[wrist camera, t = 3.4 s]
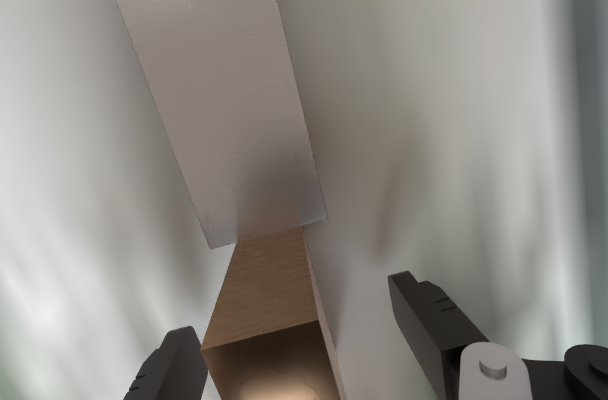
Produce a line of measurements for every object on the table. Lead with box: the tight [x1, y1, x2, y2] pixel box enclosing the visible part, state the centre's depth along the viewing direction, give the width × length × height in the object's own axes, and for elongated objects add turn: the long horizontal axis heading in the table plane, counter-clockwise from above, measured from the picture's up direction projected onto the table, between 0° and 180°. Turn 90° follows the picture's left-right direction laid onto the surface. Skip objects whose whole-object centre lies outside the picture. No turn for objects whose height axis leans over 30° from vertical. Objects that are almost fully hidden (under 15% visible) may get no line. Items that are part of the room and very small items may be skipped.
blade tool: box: [116, 0, 347, 400], centre depth 7 cm, size 22×7×6 cm, turn 14°
